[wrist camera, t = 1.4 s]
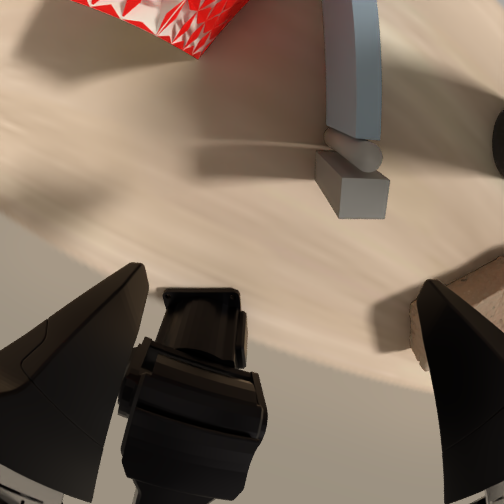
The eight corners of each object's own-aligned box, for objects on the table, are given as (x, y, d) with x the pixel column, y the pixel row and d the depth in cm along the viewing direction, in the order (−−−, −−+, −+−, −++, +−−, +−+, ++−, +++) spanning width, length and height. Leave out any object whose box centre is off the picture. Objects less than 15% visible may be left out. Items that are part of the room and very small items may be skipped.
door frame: (314, 180, 19) (338, 218, 13) (300, -84, 8) (313, -130, 2) (348, 180, 19) (384, 219, 13) (334, -80, 8) (357, -122, 2)
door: (299, 146, 17) (318, 170, 12) (287, -65, 9) (297, -114, 4) (344, 148, 17) (381, 173, 12) (332, -61, 9) (356, -104, 4)
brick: (409, 349, 28) (423, 380, 24) (406, 298, 24) (425, 333, 20) (513, 293, 24) (532, 316, 20) (521, 239, 20) (546, 261, 16)
